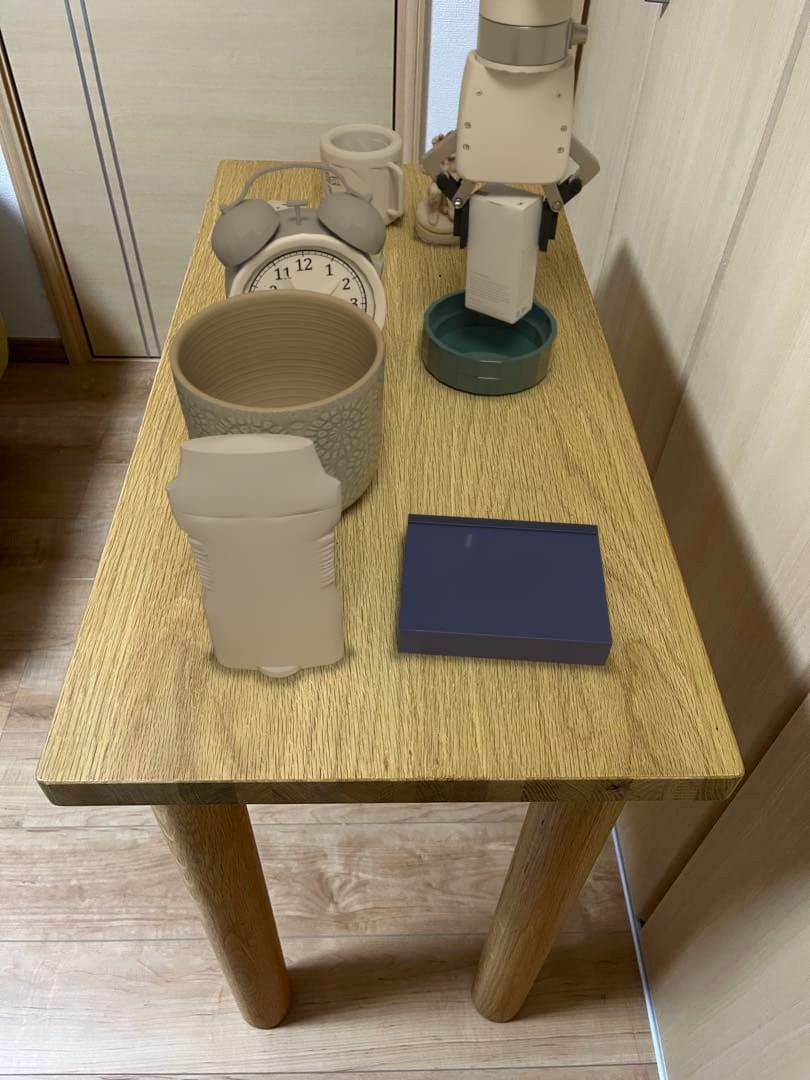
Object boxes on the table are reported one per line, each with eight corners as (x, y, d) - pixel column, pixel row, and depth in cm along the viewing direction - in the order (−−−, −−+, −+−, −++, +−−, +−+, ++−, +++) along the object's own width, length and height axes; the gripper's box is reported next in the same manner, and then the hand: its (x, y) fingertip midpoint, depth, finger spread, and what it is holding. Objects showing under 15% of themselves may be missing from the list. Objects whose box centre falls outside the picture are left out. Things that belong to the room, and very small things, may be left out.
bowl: (547, 325, 95) (553, 290, 92) (554, 401, 86) (561, 365, 82) (425, 319, 96) (426, 284, 92) (418, 393, 86) (420, 357, 83)
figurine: (432, 262, 108) (443, 167, 95) (403, 225, 111) (410, 128, 97) (478, 242, 110) (495, 147, 97) (448, 207, 113) (461, 109, 99)
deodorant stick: (349, 631, 65) (338, 411, 49) (349, 675, 62) (338, 457, 46) (213, 636, 64) (157, 415, 48) (208, 680, 62) (146, 462, 45)
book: (590, 549, 71) (597, 524, 69) (604, 666, 63) (613, 641, 61) (407, 538, 72) (408, 513, 70) (397, 652, 64) (398, 628, 61)
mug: (307, 210, 114) (302, 135, 106) (366, 188, 119) (365, 115, 111) (371, 247, 107) (371, 169, 100) (431, 222, 112) (434, 146, 105)
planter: (174, 461, 78) (139, 320, 67) (332, 407, 84) (325, 270, 73) (244, 580, 68) (217, 438, 57) (418, 509, 74) (424, 368, 63)
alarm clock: (235, 403, 84) (201, 191, 68) (230, 354, 90) (197, 149, 74) (392, 385, 87) (395, 177, 71) (377, 339, 93) (376, 137, 76)
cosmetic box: (533, 308, 86) (549, 193, 77) (511, 327, 83) (525, 210, 74) (482, 290, 88) (492, 176, 79) (460, 308, 86) (468, 192, 77)
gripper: (623, 29, 70) (588, 229, 83) (419, 23, 71) (416, 223, 83) (634, 57, 65) (595, 266, 78) (414, 51, 65) (411, 259, 78)
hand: (502, 242), depth 80 cm, fingers closed on cosmetic box, 7 cm apart
